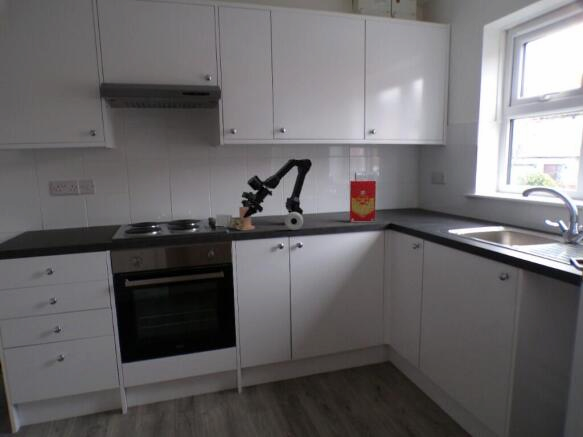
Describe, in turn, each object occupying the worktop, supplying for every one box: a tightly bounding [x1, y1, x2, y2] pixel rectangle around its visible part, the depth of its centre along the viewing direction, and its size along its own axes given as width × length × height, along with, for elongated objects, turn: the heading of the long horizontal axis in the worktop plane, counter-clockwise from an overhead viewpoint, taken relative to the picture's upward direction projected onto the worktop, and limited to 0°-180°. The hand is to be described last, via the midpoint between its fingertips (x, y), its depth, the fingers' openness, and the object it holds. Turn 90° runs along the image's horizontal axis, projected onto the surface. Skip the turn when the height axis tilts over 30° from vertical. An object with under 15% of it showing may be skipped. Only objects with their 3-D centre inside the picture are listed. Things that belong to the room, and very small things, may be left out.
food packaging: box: [349, 180, 377, 222], centre depth 226 cm, size 15×5×25 cm, turn 85°
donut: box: [284, 212, 304, 231], centre depth 199 cm, size 10×4×10 cm, turn 90°
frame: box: [215, 213, 233, 228], centre depth 212 cm, size 10×2×7 cm, turn 70°
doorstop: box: [238, 206, 256, 231], centre depth 205 cm, size 8×8×12 cm
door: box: [230, 217, 244, 231], centre depth 204 cm, size 12×2×5 cm, turn 35°
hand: (242, 217), depth 204 cm, fingers closed on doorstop, 5 cm apart
